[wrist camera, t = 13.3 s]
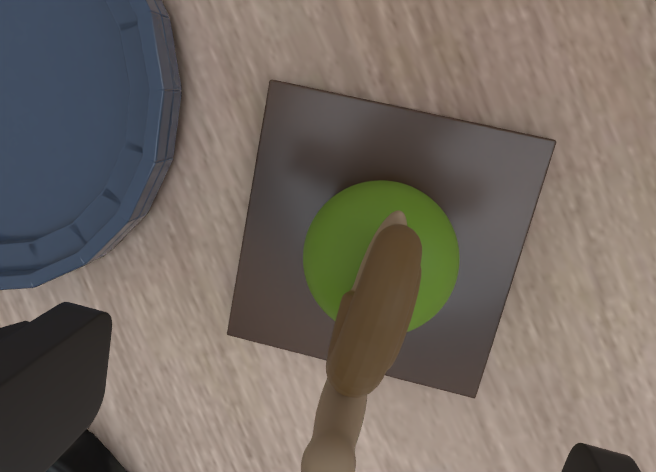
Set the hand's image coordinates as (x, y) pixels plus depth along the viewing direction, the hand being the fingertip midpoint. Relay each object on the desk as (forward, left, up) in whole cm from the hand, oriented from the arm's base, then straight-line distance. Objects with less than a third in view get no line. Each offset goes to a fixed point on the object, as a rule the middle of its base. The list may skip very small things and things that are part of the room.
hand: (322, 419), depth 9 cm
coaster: (0, 0, -14) cm, 14 cm away
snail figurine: (+1, 0, -13) cm, 13 cm away
